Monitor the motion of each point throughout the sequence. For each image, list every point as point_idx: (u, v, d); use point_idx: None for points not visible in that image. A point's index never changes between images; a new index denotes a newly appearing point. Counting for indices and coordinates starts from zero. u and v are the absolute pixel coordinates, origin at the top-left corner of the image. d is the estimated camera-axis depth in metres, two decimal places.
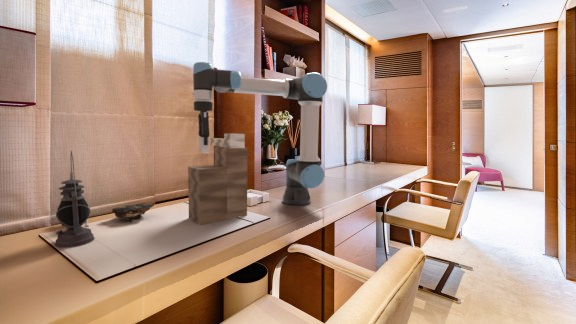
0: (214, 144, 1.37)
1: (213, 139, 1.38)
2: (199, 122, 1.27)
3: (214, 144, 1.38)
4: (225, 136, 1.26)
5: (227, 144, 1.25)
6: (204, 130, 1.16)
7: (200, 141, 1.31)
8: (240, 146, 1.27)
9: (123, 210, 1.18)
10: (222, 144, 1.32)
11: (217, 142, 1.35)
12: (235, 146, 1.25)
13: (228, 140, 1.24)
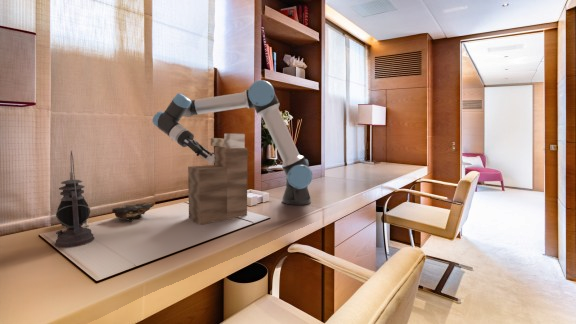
0: (214, 144, 1.37)
1: (213, 139, 1.38)
2: None
3: (214, 144, 1.38)
4: (225, 136, 1.26)
5: (227, 144, 1.25)
6: (194, 149, 1.28)
7: None
8: (240, 146, 1.27)
9: (123, 210, 1.18)
10: (222, 144, 1.32)
11: (217, 142, 1.35)
12: (235, 146, 1.25)
13: (228, 140, 1.24)
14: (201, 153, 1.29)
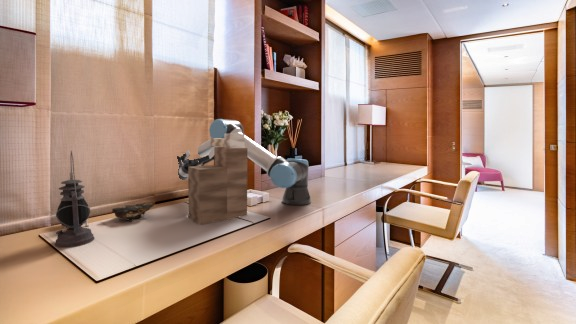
0: (214, 144, 1.37)
1: (213, 139, 1.38)
2: (198, 163, 1.61)
3: (214, 144, 1.38)
4: (225, 136, 1.26)
5: (227, 144, 1.25)
6: (178, 160, 1.51)
7: (210, 155, 1.58)
8: (240, 146, 1.27)
9: (123, 210, 1.18)
10: (222, 144, 1.32)
11: (217, 142, 1.35)
12: (235, 146, 1.25)
13: (228, 140, 1.24)
14: (182, 157, 1.50)
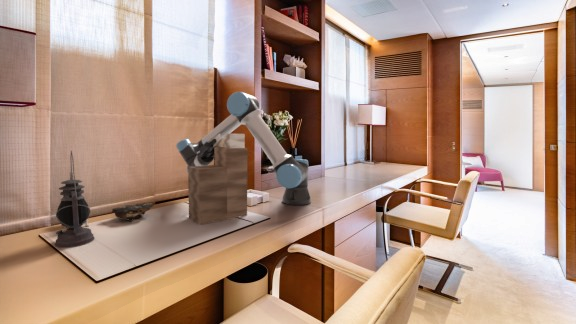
0: None
1: None
2: None
3: None
4: (225, 136, 1.26)
5: (227, 144, 1.25)
6: (205, 147, 1.36)
7: None
8: (240, 146, 1.27)
9: (123, 210, 1.18)
10: (222, 144, 1.32)
11: None
12: (235, 146, 1.25)
13: (228, 140, 1.24)
14: (211, 142, 1.36)
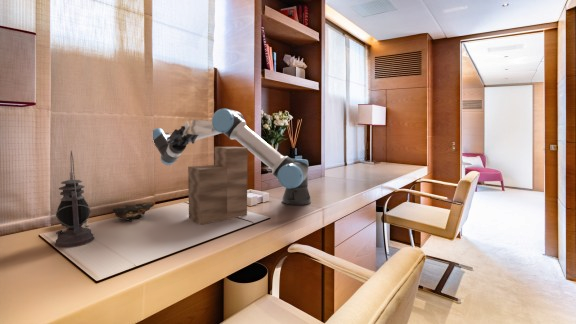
0: None
1: None
2: (185, 141, 1.45)
3: None
4: (192, 123, 1.26)
5: (193, 130, 1.26)
6: (174, 134, 1.37)
7: None
8: (206, 133, 1.27)
9: (123, 210, 1.18)
10: (190, 131, 1.32)
11: None
12: (201, 133, 1.26)
13: (194, 126, 1.25)
14: (180, 130, 1.36)
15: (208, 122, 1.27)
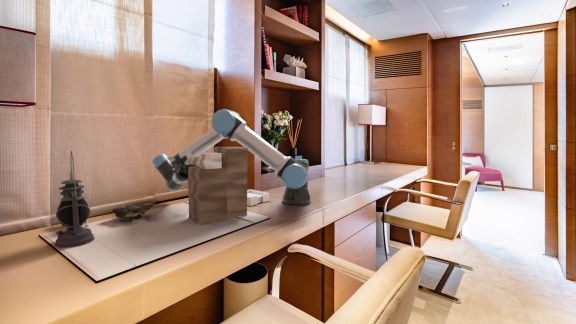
0: (191, 162, 1.31)
1: None
2: None
3: (191, 163, 1.31)
4: (200, 156, 1.20)
5: (202, 164, 1.19)
6: (176, 164, 1.29)
7: None
8: (216, 166, 1.20)
9: (123, 210, 1.18)
10: (199, 163, 1.25)
11: (194, 160, 1.29)
12: (211, 167, 1.19)
13: (203, 160, 1.18)
14: (182, 160, 1.28)
15: (218, 155, 1.20)
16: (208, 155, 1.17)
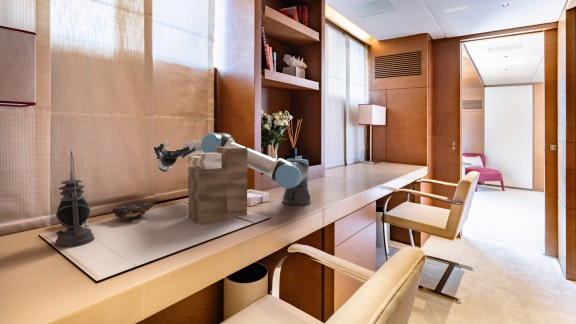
0: (191, 162, 1.31)
1: (190, 157, 1.32)
2: (178, 155, 1.52)
3: (191, 163, 1.31)
4: (200, 156, 1.20)
5: (202, 164, 1.19)
6: (155, 151, 1.42)
7: (191, 146, 1.49)
8: (216, 166, 1.20)
9: (123, 210, 1.18)
10: (199, 163, 1.25)
11: (194, 160, 1.29)
12: (211, 167, 1.19)
13: (203, 160, 1.18)
14: (159, 147, 1.41)
15: (218, 155, 1.20)
16: (208, 155, 1.17)
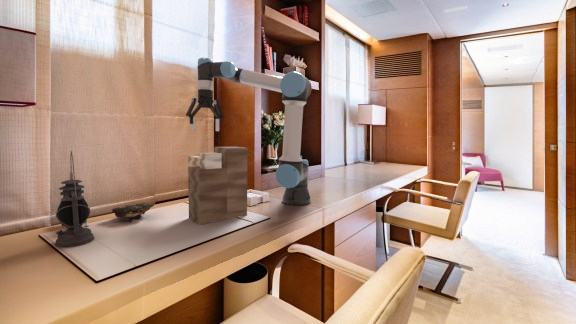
0: (191, 162, 1.31)
1: (190, 157, 1.32)
2: None
3: (191, 163, 1.31)
4: (200, 156, 1.20)
5: (202, 164, 1.19)
6: (187, 112, 1.49)
7: (216, 123, 1.60)
8: (216, 166, 1.20)
9: (123, 210, 1.18)
10: (199, 163, 1.25)
11: (194, 160, 1.29)
12: (211, 167, 1.19)
13: (203, 160, 1.18)
14: (190, 118, 1.50)
15: (218, 155, 1.20)
16: (208, 155, 1.17)
